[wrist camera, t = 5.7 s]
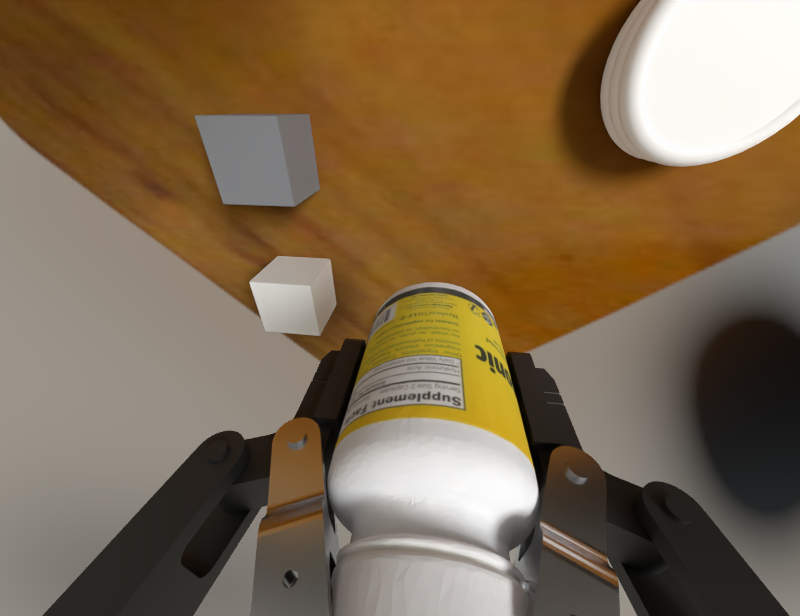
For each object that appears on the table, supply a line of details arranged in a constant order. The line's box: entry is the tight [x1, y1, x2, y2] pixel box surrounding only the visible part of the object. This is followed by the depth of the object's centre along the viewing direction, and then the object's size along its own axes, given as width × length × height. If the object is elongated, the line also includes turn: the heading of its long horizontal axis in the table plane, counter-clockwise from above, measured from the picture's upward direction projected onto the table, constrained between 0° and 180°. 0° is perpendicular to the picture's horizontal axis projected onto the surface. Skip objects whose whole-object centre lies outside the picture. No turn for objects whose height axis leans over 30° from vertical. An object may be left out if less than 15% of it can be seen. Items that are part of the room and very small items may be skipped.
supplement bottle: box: [327, 282, 540, 616], centre depth 9 cm, size 5×5×10 cm
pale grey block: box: [249, 256, 337, 336], centre depth 26 cm, size 5×5×5 cm
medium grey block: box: [194, 114, 320, 207], centre depth 20 cm, size 5×5×5 cm
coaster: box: [600, 0, 800, 167], centre depth 16 cm, size 10×10×4 cm
